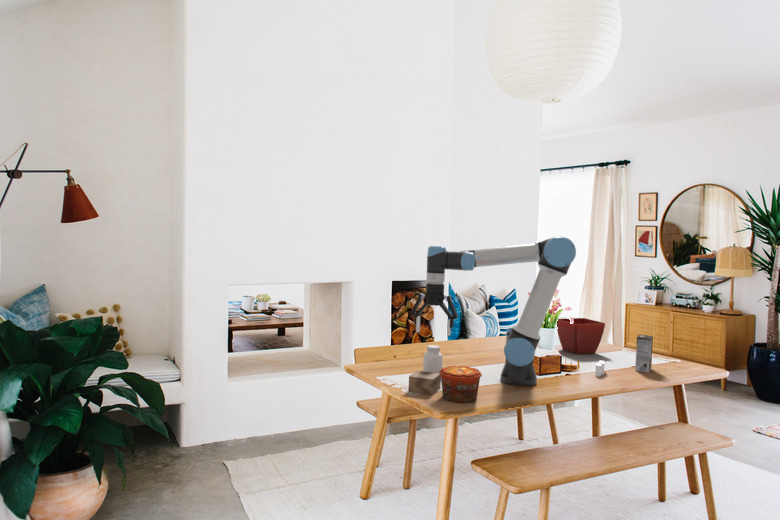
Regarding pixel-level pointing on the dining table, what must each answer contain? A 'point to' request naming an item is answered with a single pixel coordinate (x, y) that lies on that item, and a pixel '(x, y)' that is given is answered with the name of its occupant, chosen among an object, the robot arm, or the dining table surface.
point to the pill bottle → (432, 359)
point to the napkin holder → (599, 368)
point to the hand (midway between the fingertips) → (433, 333)
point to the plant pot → (580, 335)
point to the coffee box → (644, 353)
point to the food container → (460, 383)
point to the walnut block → (424, 382)
